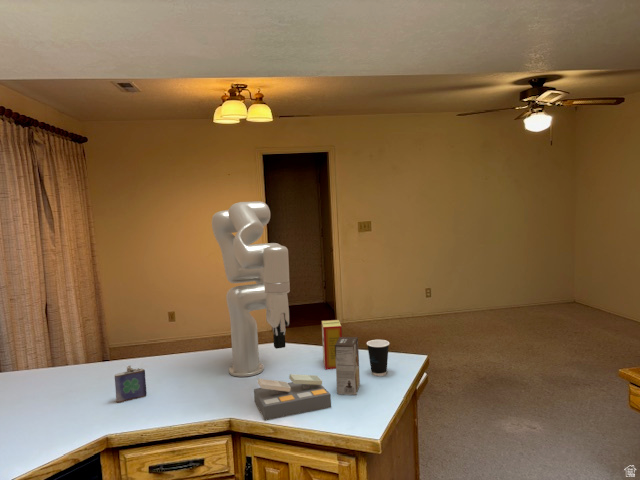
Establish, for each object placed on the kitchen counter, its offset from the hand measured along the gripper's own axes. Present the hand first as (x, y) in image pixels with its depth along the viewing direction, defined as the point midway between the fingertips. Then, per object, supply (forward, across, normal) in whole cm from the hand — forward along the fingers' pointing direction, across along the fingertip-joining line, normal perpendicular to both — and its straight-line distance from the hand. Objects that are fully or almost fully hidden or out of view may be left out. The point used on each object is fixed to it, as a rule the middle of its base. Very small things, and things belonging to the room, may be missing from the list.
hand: (279, 347), depth 142 cm
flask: (+18, -25, -43) cm, 53 cm away
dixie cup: (+18, -9, +38) cm, 42 cm away
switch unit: (+18, +2, +2) cm, 18 cm away
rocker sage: (+11, +1, +7) cm, 13 cm away
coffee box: (+18, -1, +22) cm, 29 cm away
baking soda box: (+18, -25, +27) cm, 41 cm away
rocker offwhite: (+11, +1, -3) cm, 11 cm away
